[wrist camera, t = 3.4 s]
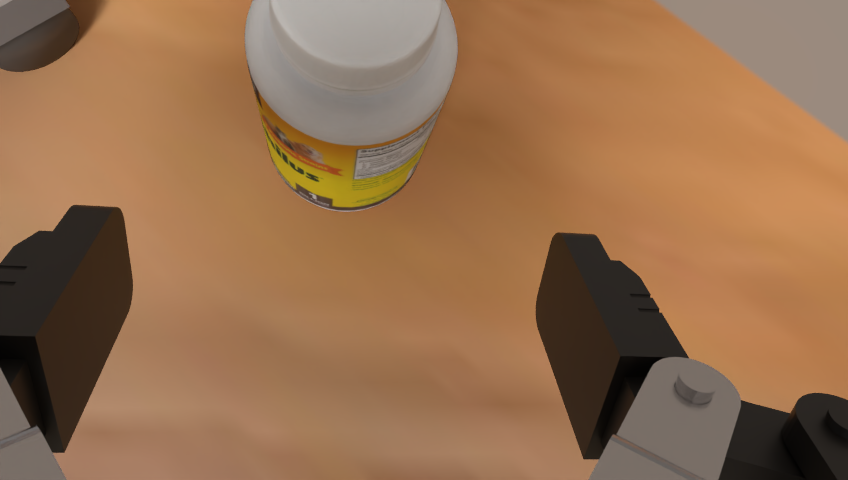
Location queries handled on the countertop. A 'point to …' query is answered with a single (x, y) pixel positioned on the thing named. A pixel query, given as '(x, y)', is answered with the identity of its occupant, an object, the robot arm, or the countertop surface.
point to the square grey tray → (35, 33)
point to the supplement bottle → (349, 92)
